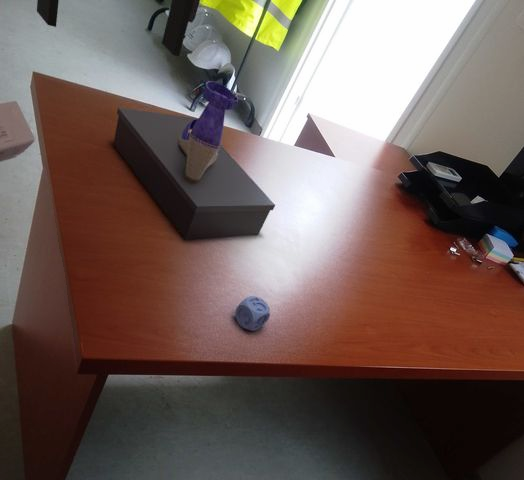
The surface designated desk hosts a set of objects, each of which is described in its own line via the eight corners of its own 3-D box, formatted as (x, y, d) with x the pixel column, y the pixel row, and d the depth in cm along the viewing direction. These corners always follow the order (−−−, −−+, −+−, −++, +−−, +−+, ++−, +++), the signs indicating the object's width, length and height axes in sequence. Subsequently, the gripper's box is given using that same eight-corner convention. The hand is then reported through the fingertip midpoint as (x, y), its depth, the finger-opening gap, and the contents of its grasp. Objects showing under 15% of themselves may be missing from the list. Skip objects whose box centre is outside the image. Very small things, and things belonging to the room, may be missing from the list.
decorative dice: (248, 310, 76) (258, 293, 74) (263, 327, 75) (273, 310, 73) (231, 316, 74) (241, 299, 71) (247, 333, 73) (257, 316, 70)
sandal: (221, 148, 95) (249, 74, 85) (204, 190, 81) (234, 107, 71) (184, 131, 94) (208, 53, 84) (160, 170, 79) (185, 83, 69)
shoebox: (111, 143, 93) (117, 107, 88) (187, 149, 105) (196, 118, 100) (184, 241, 82) (197, 206, 77) (260, 235, 94) (275, 205, 89)
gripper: (-1, -430, 24) (-8, 23, 38) (312, -173, 40) (226, 75, 54) (-46, -445, 26) (-37, -18, 40) (264, -199, 43) (194, 44, 57)
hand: (114, 36), depth 47 cm, fingers open, 13 cm apart
